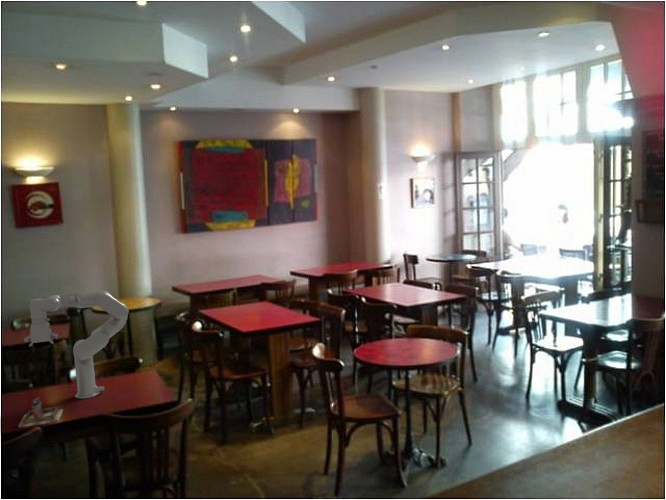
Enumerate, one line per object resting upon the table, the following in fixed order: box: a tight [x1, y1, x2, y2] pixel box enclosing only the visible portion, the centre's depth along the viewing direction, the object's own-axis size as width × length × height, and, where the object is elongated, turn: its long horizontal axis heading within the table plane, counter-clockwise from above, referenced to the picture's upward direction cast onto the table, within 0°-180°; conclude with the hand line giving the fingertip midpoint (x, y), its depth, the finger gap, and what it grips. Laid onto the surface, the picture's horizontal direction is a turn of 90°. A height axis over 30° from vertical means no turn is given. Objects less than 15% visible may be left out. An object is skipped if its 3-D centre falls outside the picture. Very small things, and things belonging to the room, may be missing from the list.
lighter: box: [31, 397, 43, 418], centre depth 305 cm, size 8×3×10 cm, turn 9°
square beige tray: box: [18, 406, 64, 429], centre depth 308 cm, size 18×16×3 cm
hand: (42, 351), depth 333 cm, fingers open, 9 cm apart
